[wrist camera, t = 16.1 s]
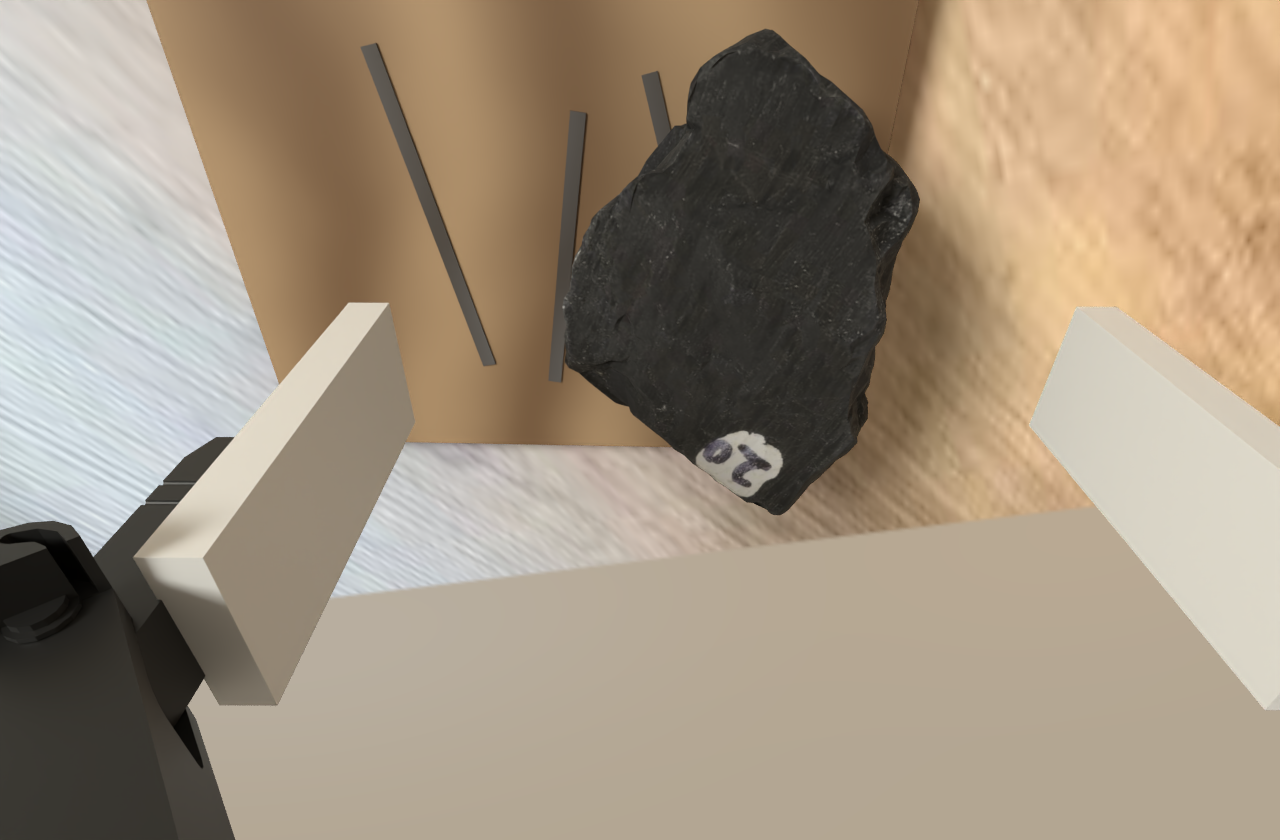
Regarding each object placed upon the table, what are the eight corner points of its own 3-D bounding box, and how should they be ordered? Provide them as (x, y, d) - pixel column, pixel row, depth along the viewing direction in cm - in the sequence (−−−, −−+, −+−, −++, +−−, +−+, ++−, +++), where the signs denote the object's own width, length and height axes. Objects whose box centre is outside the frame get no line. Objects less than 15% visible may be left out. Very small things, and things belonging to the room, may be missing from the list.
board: (313, 420, 24) (297, 441, 23) (157, -63, 16) (122, -64, 15) (820, 429, 24) (828, 450, 23) (913, -58, 16) (931, -59, 15)
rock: (779, 457, 23) (816, 589, 18) (520, 288, 20) (480, 393, 15) (999, 252, 19) (1123, 350, 14) (721, -5, 16) (756, 6, 11)
